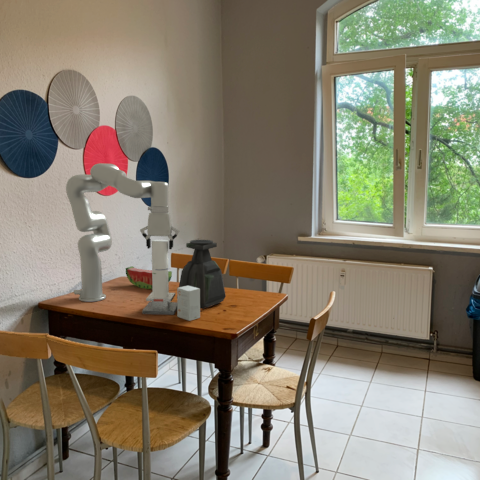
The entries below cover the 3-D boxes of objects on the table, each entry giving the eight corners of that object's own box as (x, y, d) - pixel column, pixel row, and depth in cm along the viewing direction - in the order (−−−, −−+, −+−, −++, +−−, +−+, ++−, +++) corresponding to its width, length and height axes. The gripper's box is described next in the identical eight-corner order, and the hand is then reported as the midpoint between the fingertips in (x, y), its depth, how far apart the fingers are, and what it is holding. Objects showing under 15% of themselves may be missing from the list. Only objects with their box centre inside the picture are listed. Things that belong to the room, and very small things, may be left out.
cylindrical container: (165, 298, 202) (164, 242, 199) (150, 297, 204) (149, 241, 200) (170, 294, 209) (170, 240, 205) (156, 293, 211) (155, 239, 207)
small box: (200, 317, 197) (200, 288, 195) (189, 321, 192) (189, 291, 190) (188, 313, 202) (188, 285, 200) (176, 316, 197) (176, 287, 195)
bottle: (226, 302, 219) (227, 241, 215) (205, 311, 206) (205, 245, 201) (198, 296, 229) (197, 237, 225) (175, 304, 216) (175, 241, 211)
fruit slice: (172, 289, 243) (172, 270, 241) (165, 292, 237) (165, 273, 236) (132, 283, 254) (132, 266, 252) (125, 286, 248) (124, 268, 246)
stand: (142, 313, 201) (141, 299, 200) (149, 304, 214) (149, 291, 214) (173, 314, 200) (173, 300, 199) (179, 305, 214) (179, 291, 213)
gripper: (138, 210, 197) (138, 249, 200) (177, 211, 197) (177, 250, 199) (142, 208, 205) (142, 246, 207) (180, 210, 204) (180, 247, 207)
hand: (159, 248), depth 203 cm, fingers open, 9 cm apart
